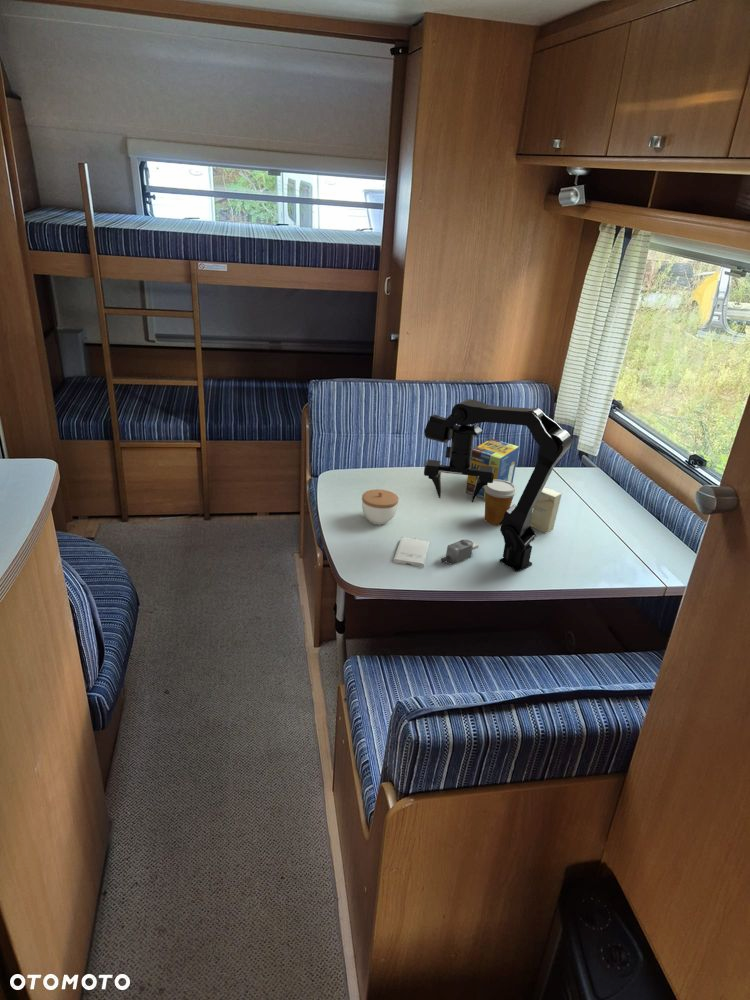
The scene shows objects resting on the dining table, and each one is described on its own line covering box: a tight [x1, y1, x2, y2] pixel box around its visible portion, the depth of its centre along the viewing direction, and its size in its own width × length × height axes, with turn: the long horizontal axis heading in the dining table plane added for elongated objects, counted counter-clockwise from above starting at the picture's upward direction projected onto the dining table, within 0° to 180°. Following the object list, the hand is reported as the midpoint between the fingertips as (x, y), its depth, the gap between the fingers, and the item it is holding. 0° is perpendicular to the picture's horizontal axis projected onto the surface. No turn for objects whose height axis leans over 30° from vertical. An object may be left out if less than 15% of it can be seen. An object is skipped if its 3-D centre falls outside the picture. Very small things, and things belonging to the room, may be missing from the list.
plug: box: [440, 538, 479, 565], centre depth 177 cm, size 13×4×4 cm, turn 130°
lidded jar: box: [361, 488, 399, 526], centre depth 193 cm, size 11×11×9 cm
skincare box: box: [530, 486, 563, 533], centre depth 195 cm, size 6×4×12 cm
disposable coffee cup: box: [484, 479, 517, 526], centre depth 197 cm, size 10×10×12 cm
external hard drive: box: [393, 536, 431, 568], centre depth 178 cm, size 2×8×12 cm
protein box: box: [465, 438, 520, 500], centre depth 217 cm, size 10×15×16 cm
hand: (456, 499), depth 181 cm, fingers open, 9 cm apart
